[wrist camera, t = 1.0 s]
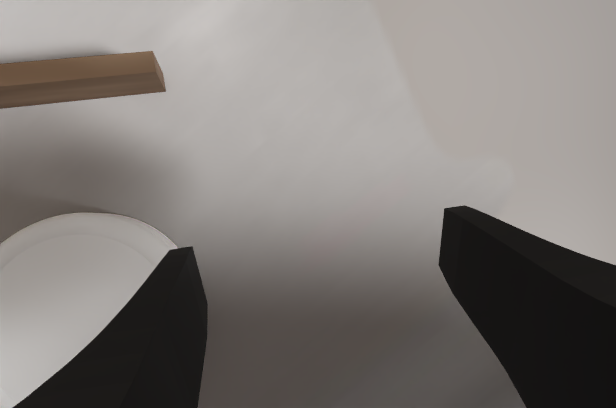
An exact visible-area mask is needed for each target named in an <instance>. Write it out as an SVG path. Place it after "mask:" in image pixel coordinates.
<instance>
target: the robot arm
mask: <svg viewBox="0 0 616 408" xmlns="http://www.w3.org/2000/svg"><path fill="white" fill-rule="evenodd" d="M439 267H440V269H441V271H442V273H443V275H444V277H445V279H446V281H447V283H448V285H449V287H450V289H451V291H452V293H453V294H454V296H455V297H456V299H457V300H458V302H459V303H460V305H461V306H462V308H463V309H464V310H465V312H466V313H467V315H468V316H469V318H470V319H471V321H472V322H473V323H474V325H475V326H476V328H477V329H478V330H479V332H480V333H481V335H482V336H483V338H484V339H485V340H486V342H487V343H488V345H489V346H490V348H491V349H492V350H493V352H494V353H495V355H496V356H497V358H498V359H499V361H500V362H501V364H502V365H503V367H504V368H505V370H506V372H507V373H508V375H509V377H510V379H511V381H512V382H513V384H514V386H515V388H516V389H517V391H518V393H519V395H520V397H521V398H522V400H523V402H524V404H525V406H526V408H616V265H613V264H610V263H606V262H603V261H600V260H597V259H594V258H591V257H588V256H585V255H582V254H580V253H577V252H574V251H572V250H569V249H567V248H564V247H561V246H559V245H556V244H554V243H551V242H549V241H546V240H544V239H541V238H539V237H537V236H535V235H532V234H530V233H528V232H525V231H523V230H521V229H519V228H516V227H514V226H512V225H510V224H507V223H505V222H503V221H501V220H499V219H496V218H494V217H492V216H490V215H487V214H485V213H483V212H480V211H478V210H476V209H473V208H470V207H467V206H458V207H451V208H445V209H444V218H443V228H442V238H441V247H440V257H439ZM206 341H207V300H206V296H205V292H204V289H203V285H202V281H201V277H200V273H199V270H198V266H197V262H196V258H195V255H194V251H193V247H185V248H178V249H172V250H169V251H168V252H167V254H166V255H165V256H164V257H163V259H162V260H161V261H160V262H159V264H158V265H157V266H156V268H155V269H154V270H153V272H152V273H151V274H150V275H149V277H148V278H147V279H146V280H145V282H144V283H143V284H142V286H141V287H140V288H139V289H138V290H137V292H136V293H135V294H134V295H133V297H132V298H131V299H130V300H129V301H128V303H127V304H126V305H125V306H124V307H123V308H122V309H121V310H120V311H119V313H118V314H117V315H116V316H115V317H114V318H113V319H112V320H111V321H110V323H109V324H108V325H107V326H106V327H105V328H104V329H103V330H102V331H101V332H100V333H99V334H98V335H97V336H96V337H95V338H94V339H93V340H92V341H91V342H90V343H89V344H88V345H87V346H86V347H85V348H84V349H83V350H81V351H80V352H79V353H78V354H77V355H76V356H75V357H74V358H73V359H72V360H71V361H69V362H68V363H67V364H66V365H65V366H64V367H62V368H61V369H60V370H59V371H58V372H56V373H55V374H54V375H53V376H52V377H50V378H49V379H48V380H47V381H45V382H44V383H43V384H42V385H41V386H39V387H38V388H37V389H36V390H34V391H33V392H32V393H31V394H30V395H28V396H27V397H26V398H25V399H23V400H22V401H21V402H19V403H18V404H17V405H15V406H14V407H13V408H197V407H198V399H199V392H200V385H201V378H202V371H203V363H204V356H205V348H206Z"/></svg>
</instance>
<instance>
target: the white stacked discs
mask: <svg viewBox="0 0 616 408" xmlns="http://www.w3.org/2000/svg"><path fill="white" fill-rule="evenodd" d="M172 249H178V247H177V246H176V245H175V244H174V243H173V242H172V241H171V240H170V239H169V238H168V237H167V236H165V235H164V234H163V233H161V232H160V231H158V230H157V229H155V228H154V227H152V226H150V225H148V224H146V223H144V222H142V221H139V220H137V219H134V218H131V217H127V216H123V215H117V214H110V213H86V212H79V213H70V214H63V215H58V216H54V217H50V218H47V219H44V220H41V221H39V222H36V223H33V224H31V225H29V226H27V227H25V228H23V229H22V230H20V231H18V232H16V233H15V234H13V235H12V236H11V237H9V238H8V239H6V240H5V241H4V242H2V243H1V244H0V408H13V407H14V406H15V405H17V404H18V403H19V402H21V401H22V400H23V399H25V398H26V397H27V396H28V395H30V394H31V393H32V392H33V391H34V390H36V389H37V388H38V387H39V386H41V385H42V384H43V383H44V382H45V381H47V380H48V379H49V378H50V377H52V376H53V375H54V374H55V373H56V372H58V371H59V370H60V369H61V368H62V367H64V366H65V365H66V364H67V363H68V362H69V361H71V360H72V359H73V358H74V357H75V356H76V355H77V354H78V353H79V352H80V351H81V350H83V349H84V348H85V347H86V346H87V345H88V344H89V343H90V342H91V341H92V340H93V339H94V338H95V337H96V336H97V335H98V334H99V333H100V332H101V331H102V330H103V329H104V328H105V327H106V326H107V325H108V324H109V323H110V321H111V320H112V319H113V318H114V317H115V316H116V315H117V314H118V313H119V311H120V310H121V309H122V308H123V307H124V306H125V305H126V304H127V303H128V301H129V300H130V299H131V298H132V297H133V295H134V294H135V293H136V292H137V290H138V289H139V288H140V287H141V286H142V284H143V283H144V282H145V280H146V279H147V278H148V277H149V275H150V274H151V273H152V272H153V270H154V269H155V268H156V266H157V265H158V264H159V262H160V261H161V260H162V259H163V257H164V256H165V255H166V254H167V252H168V251H169V250H172Z"/></svg>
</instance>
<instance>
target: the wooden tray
mask: <svg viewBox="0 0 616 408" xmlns="http://www.w3.org/2000/svg"><path fill="white" fill-rule="evenodd" d="M165 91H166V89H165V83H164V77H163V73H162V71H161V68H160V66H159V64H158V62H157V60H156V58H155V55H154V53H153V51H148V52H136V53H124V54H112V55H101V56H89V57H77V58H65V59H53V60H42V61H30V62H18V63H6V64H0V109H1V108H11V107H20V106H30V105H40V104H49V103H59V102H69V101H78V100H88V99H97V98H107V97H117V96H126V95H136V94H146V93H155V92H165Z"/></svg>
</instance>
